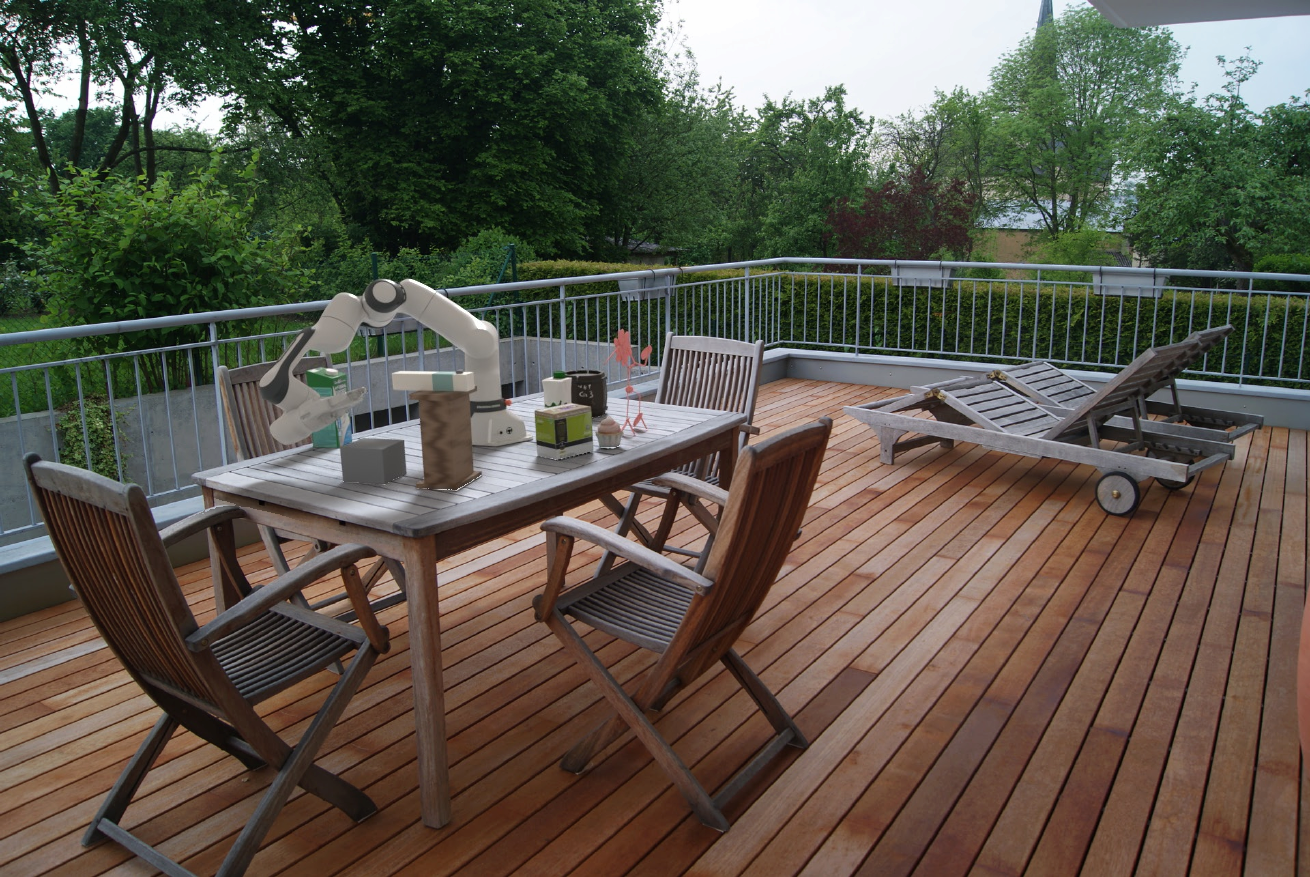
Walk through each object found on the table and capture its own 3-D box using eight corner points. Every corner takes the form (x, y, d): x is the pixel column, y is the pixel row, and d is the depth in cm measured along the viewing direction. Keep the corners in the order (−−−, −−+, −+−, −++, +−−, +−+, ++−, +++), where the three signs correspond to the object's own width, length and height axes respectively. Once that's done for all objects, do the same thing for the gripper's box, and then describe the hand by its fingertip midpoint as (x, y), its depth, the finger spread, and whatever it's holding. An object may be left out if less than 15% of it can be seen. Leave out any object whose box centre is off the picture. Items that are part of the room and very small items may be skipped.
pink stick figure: (660, 425, 332) (656, 325, 324) (626, 441, 309) (621, 333, 302) (621, 423, 339) (617, 325, 331) (585, 438, 316) (580, 333, 308)
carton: (393, 390, 258) (391, 370, 257) (401, 387, 262) (399, 368, 261) (467, 391, 252) (465, 371, 251) (474, 388, 257) (473, 369, 256)
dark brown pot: (587, 407, 367) (586, 367, 363) (617, 414, 354) (616, 372, 350) (549, 414, 355) (548, 372, 351) (579, 421, 342) (578, 377, 338)
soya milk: (575, 428, 329) (573, 371, 325) (563, 433, 321) (561, 375, 317) (553, 426, 332) (551, 370, 328) (540, 432, 324) (538, 374, 320)
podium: (343, 482, 264) (339, 447, 262) (366, 471, 275) (363, 437, 273) (384, 484, 261) (382, 449, 258) (406, 473, 272) (404, 439, 270)
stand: (415, 488, 256) (409, 394, 250) (443, 474, 271) (437, 384, 266) (456, 491, 253) (450, 395, 247) (481, 476, 268) (476, 385, 263)
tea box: (573, 447, 301) (571, 402, 298) (594, 452, 294) (592, 406, 291) (535, 456, 291) (533, 408, 288) (556, 461, 284) (554, 413, 281)
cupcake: (618, 442, 307) (618, 412, 305) (628, 448, 299) (627, 417, 296) (591, 445, 304) (590, 414, 302) (599, 451, 295) (598, 420, 293)
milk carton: (338, 447, 305) (331, 371, 300) (312, 447, 307) (305, 370, 301) (352, 441, 314) (346, 366, 308) (327, 440, 316) (320, 366, 310)
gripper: (290, 409, 258) (328, 388, 254) (334, 396, 277) (369, 376, 273) (301, 430, 259) (339, 409, 254) (344, 415, 278) (380, 396, 273)
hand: (355, 392), depth 264 cm, fingers open, 8 cm apart
